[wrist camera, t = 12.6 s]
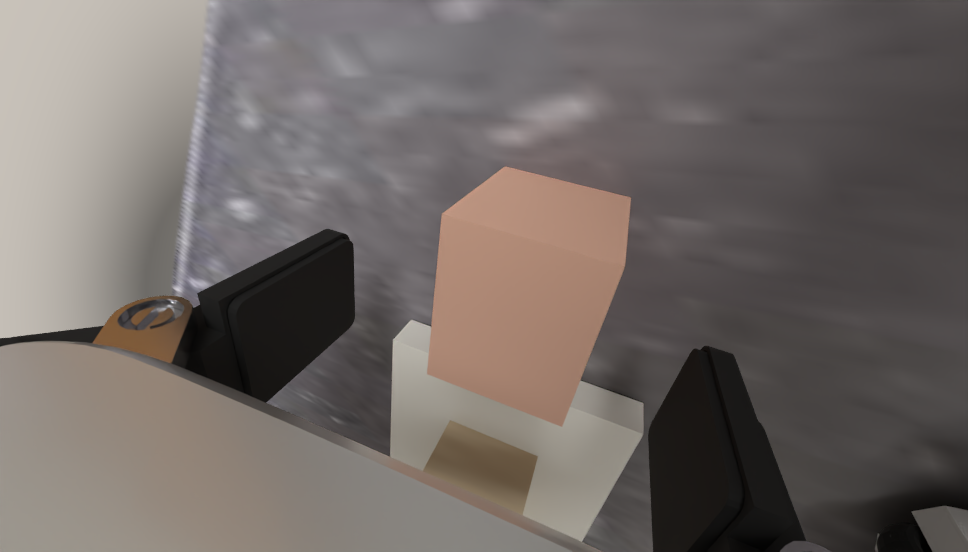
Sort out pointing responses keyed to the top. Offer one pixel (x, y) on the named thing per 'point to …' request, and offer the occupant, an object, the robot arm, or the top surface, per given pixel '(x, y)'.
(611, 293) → the clay brick
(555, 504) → the base plate
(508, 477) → the beech brick
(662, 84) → the top surface
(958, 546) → the robot toy
